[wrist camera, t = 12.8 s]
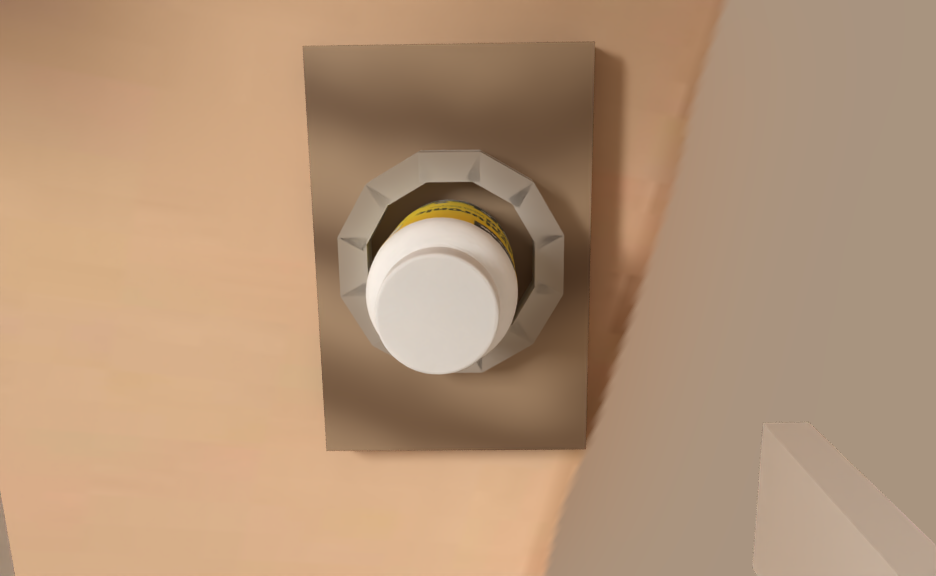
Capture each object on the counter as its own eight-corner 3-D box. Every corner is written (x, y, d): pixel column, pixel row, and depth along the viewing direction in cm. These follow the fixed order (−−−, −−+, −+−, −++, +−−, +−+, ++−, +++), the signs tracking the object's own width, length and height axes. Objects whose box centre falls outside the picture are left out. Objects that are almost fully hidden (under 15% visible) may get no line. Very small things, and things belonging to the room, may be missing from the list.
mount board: (310, 48, 34) (294, 43, 31) (589, 44, 33) (600, 38, 30) (332, 437, 38) (320, 465, 35) (581, 435, 38) (590, 463, 35)
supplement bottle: (534, 232, 34) (554, 282, 24) (476, 339, 35) (474, 427, 25) (422, 174, 33) (397, 202, 24) (367, 284, 34) (322, 353, 25)
